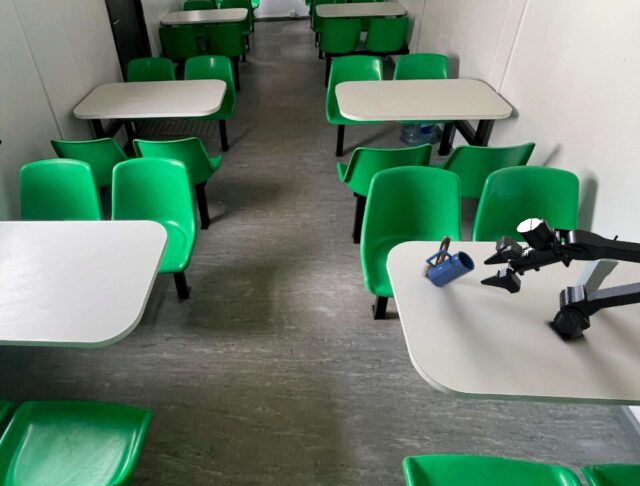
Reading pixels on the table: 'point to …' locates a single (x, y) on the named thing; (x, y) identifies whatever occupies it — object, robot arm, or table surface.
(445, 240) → the mug rack
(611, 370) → the table surface
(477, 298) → the table surface
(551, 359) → the table surface
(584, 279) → the vintage mobile phone
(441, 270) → the mug
